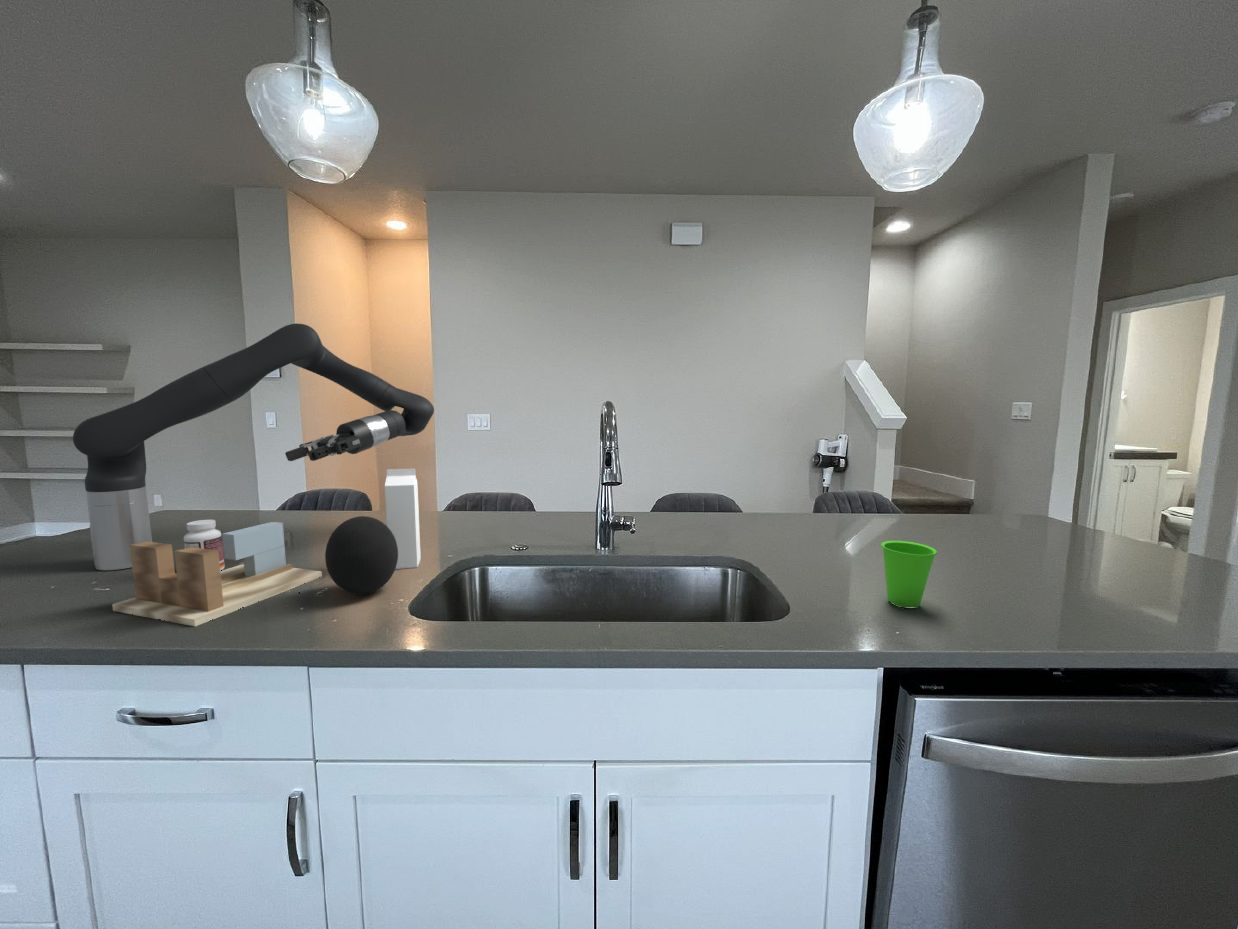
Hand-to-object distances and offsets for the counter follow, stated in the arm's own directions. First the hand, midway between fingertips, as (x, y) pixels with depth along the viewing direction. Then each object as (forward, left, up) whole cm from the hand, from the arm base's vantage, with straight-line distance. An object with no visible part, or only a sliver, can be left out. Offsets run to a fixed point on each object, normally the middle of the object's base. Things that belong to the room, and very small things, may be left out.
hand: (298, 456), depth 104 cm
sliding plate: (-2, -9, -24) cm, 25 cm away
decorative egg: (+23, -7, -25) cm, 35 cm away
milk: (+19, +9, -25) cm, 33 cm away
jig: (-2, -15, -25) cm, 29 cm away
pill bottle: (-18, -8, -25) cm, 32 cm away
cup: (+123, +19, -25) cm, 127 cm away
